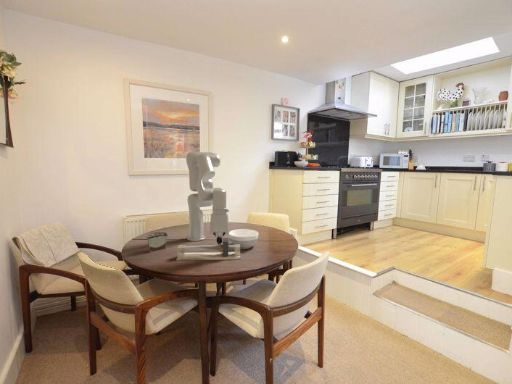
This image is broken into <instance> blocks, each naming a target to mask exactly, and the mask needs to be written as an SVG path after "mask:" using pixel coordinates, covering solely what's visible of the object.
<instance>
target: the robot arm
mask: <svg viewBox="0 0 512 384" xmlns="http://www.w3.org/2000/svg"><path fill="white" fill-rule="evenodd" d="M185 157H186V158H185V160H186V166H187V169H188V178H189V179H188V180H189V189H190V191H191V192H197V193H190V194H189V195H188V196H187V206H188V223H189V225H188V226H189V229H188V230H189V231H188V232H189V236H187V238H186V239H187V241H191V242H199V241H200V242H201V241H203V240H206V238H207V237H206V235H205V234H204V212H203V211H202V209H201V208H206V207H211V206H212V211H211V212H212V213H211V214H210V222H209V224H210V225H209V235H214V237H215V238H216V244H217V245H222V244H223V238H224V236H225V235H229V232H230V230H229V229H230V228H229V227H230V226H229V225H230V224H229V214H228V213H230V210H229V209H227V191H226V190H225V189H222V188H221V187H214V183H213V180H212V179H213V178H214V177H215V176H216V171H215V168H218V167H219V166H221V165H220V164H221V157H220V156H219V154H217V153H213V152H210V151H209V152H208V151H207V152H206V151H190V152H188V153H187V154H186V156H185ZM219 233H220V235H219Z"/></svg>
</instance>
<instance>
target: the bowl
mask: <svg viewBox="0 0 512 384" xmlns="http://www.w3.org/2000/svg"><path fill="white" fill-rule="evenodd" d="M258 238H259V231H257V230H255V229H249V228H248V229H247V228H241V229H240V228H239V229H237V228H236V229H233V230H229V234H228V239H229V242H230V243H231V245H237V244H240V250H245V249H251V248H252V247H253V246H254V245H256V243H257V241H258Z"/></svg>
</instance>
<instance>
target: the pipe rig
mask: <svg viewBox="0 0 512 384" xmlns="http://www.w3.org/2000/svg"><path fill="white" fill-rule="evenodd" d="M240 259H241V249H240V244H237V245H233V244H228V256H223V244H221V245H218V244H212V245H210V244H209V245H206V244H205V245H204V244H203V245H178V246H177V258H176V261H177V262H178V261H180V262H181V261H213V260H215V261H216V260H217V261H219V260H240Z"/></svg>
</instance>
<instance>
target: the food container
mask: <svg viewBox="0 0 512 384" xmlns="http://www.w3.org/2000/svg"><path fill="white" fill-rule="evenodd" d="M167 237H168V232H166V231H158V232H150V233H148V234H147V236H146V240H147V245H148V251H149V253H150V254H151V253H155V252H159V251H163V250H166V249H167V240H168V238H167Z"/></svg>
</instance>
